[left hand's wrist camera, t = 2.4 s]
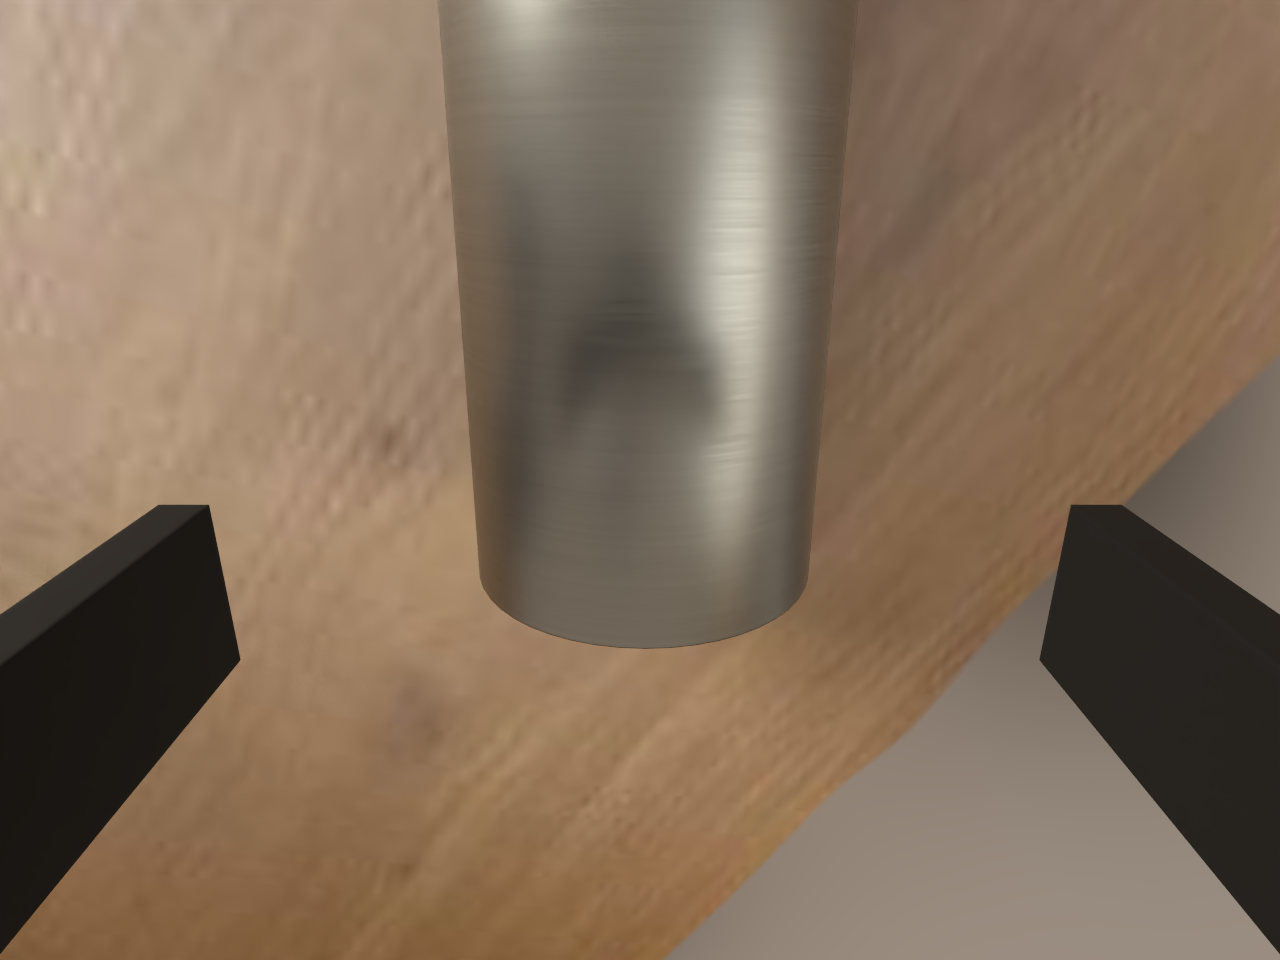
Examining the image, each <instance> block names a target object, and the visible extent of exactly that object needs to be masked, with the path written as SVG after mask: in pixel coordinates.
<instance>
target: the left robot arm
mask: <svg viewBox="0 0 1280 960" xmlns="http://www.w3.org/2000/svg"><path fill="white" fill-rule="evenodd" d="M239 661H240V655H239V650H238V645H237V640H236V635H235V631H234V626H233V621H232V616H231V611H230V606H229V601H228V596H227V591H226V586H225V581H224V576H223V572H222V567H221V562H220V557H219V552H218V547H217V542H216V537H215V532H214V527H213V522H212V518H211V513H210V508H209V505H158V506H156V507H155V508H153V509H152V510H151V511H149V512H148V513H146V514H145V515H143V516H142V517H140V518H139V519H138V520H136V521H135V522H133V523H132V524H130V525H129V526H127V527H126V528H125V529H123V530H122V531H120V532H119V533H117V534H116V535H114V536H113V537H112V538H110V539H109V540H107V541H106V542H104V543H103V544H101V545H100V546H99V547H97V548H96V549H94V550H93V551H91V552H90V553H89V554H87V555H86V556H84V557H83V558H81V559H80V560H78V561H77V562H76V563H74V564H73V565H71V566H70V567H68V568H67V569H65V570H64V571H63V572H61V573H60V574H58V575H57V576H55V577H54V578H52V579H51V580H50V581H48V582H47V583H45V584H44V585H42V586H41V587H39V588H38V589H37V590H35V591H34V592H32V593H31V594H29V595H28V596H26V597H25V598H24V599H22V600H21V601H19V602H18V603H16V604H15V605H13V606H12V607H11V608H9V609H8V610H6V611H5V612H3V613H2V614H0V954H1V952H2V951H3V950H4V949H5V947H6V946H7V945H8V944H9V943H10V941H11V940H12V939H13V938H14V936H15V935H16V934H17V933H18V932H19V930H20V929H21V928H22V927H23V925H24V924H25V923H26V922H27V921H28V919H29V918H30V917H31V916H32V914H33V913H34V912H35V911H36V910H37V908H38V907H39V906H40V905H41V903H42V902H43V901H44V900H45V899H46V897H47V896H48V895H49V894H50V892H51V891H52V890H53V889H54V888H55V886H56V885H57V884H58V883H59V881H60V880H61V879H62V878H63V877H64V875H65V874H66V873H67V872H68V870H69V869H70V868H71V867H72V866H73V864H74V863H75V862H76V861H77V859H78V858H79V857H80V856H81V854H82V853H83V852H84V851H85V850H86V848H87V847H88V846H89V845H90V843H91V842H92V841H93V840H94V839H95V837H96V836H97V835H98V834H99V832H100V831H101V830H102V829H103V828H104V826H105V825H106V824H107V823H108V821H109V820H110V819H111V818H112V817H113V815H114V814H115V813H116V812H117V810H118V809H119V808H120V807H121V806H122V804H123V803H124V802H125V801H126V799H127V798H128V797H129V796H130V795H131V793H132V792H133V791H134V790H135V788H136V787H137V786H138V785H139V784H140V782H141V781H142V780H143V779H144V777H145V776H146V775H147V774H148V773H149V771H150V770H151V769H152V768H153V766H154V765H155V764H156V763H157V762H158V760H159V759H160V758H161V757H162V755H163V754H164V753H165V752H166V751H167V749H168V748H169V747H170V746H171V744H172V743H173V742H174V741H175V740H176V738H177V737H178V736H179V735H180V733H181V732H182V731H183V730H184V728H185V727H186V726H187V725H188V724H189V722H190V721H191V720H192V719H193V717H194V716H195V715H196V714H197V713H198V711H199V710H200V709H201V708H202V706H203V705H204V704H205V703H206V702H207V700H208V699H209V698H210V697H211V695H212V694H213V693H214V692H215V691H216V689H217V688H218V687H219V686H220V684H221V683H222V682H223V681H224V680H225V678H226V677H227V676H228V675H229V673H230V672H231V671H232V670H233V669H234V667H235V666H236V665H237V664H238V662H239ZM1040 661H1041V662H1042V664H1043V665H1044V666H1045V667H1046V669H1047V670H1048V671H1049V672H1050V673H1051V675H1052V676H1053V677H1054V678H1055V680H1056V681H1057V682H1058V683H1059V684H1060V686H1061V687H1062V688H1063V689H1064V691H1065V692H1066V693H1067V694H1068V695H1069V697H1070V698H1071V699H1072V700H1073V702H1074V703H1075V704H1076V705H1077V706H1078V708H1079V709H1080V710H1081V711H1082V713H1083V714H1084V715H1085V716H1086V717H1087V719H1088V720H1089V721H1090V722H1091V724H1092V725H1093V726H1094V727H1095V728H1096V730H1097V731H1098V732H1099V733H1100V735H1101V736H1102V737H1103V738H1104V740H1105V741H1106V742H1107V743H1108V744H1109V746H1110V747H1111V748H1112V749H1113V751H1114V752H1115V753H1116V754H1117V755H1118V757H1119V758H1120V759H1121V760H1122V761H1123V763H1124V764H1125V765H1126V766H1127V768H1128V769H1129V770H1130V771H1131V773H1132V774H1133V775H1134V776H1135V777H1136V779H1137V780H1138V781H1139V782H1140V784H1141V785H1142V786H1143V787H1144V788H1145V790H1146V791H1147V792H1148V793H1149V795H1150V796H1151V797H1152V798H1153V799H1154V801H1155V802H1156V803H1157V804H1158V806H1159V807H1160V808H1161V809H1162V810H1163V812H1164V813H1165V814H1166V815H1167V817H1168V818H1169V819H1170V820H1171V821H1172V823H1173V824H1174V825H1175V826H1176V828H1177V829H1178V830H1179V831H1180V832H1181V834H1182V835H1183V836H1184V837H1185V839H1186V840H1187V841H1188V842H1189V843H1190V845H1191V846H1192V847H1193V848H1194V850H1195V851H1196V852H1197V853H1198V854H1199V856H1200V857H1201V858H1202V859H1203V861H1204V862H1205V863H1206V864H1207V865H1208V867H1209V868H1210V869H1211V870H1212V872H1213V873H1214V874H1215V875H1216V877H1217V878H1218V879H1219V880H1220V881H1221V883H1222V884H1223V885H1224V886H1225V888H1226V889H1227V890H1228V891H1229V892H1230V894H1231V895H1232V896H1233V897H1234V899H1235V900H1236V901H1237V902H1238V903H1239V905H1240V906H1241V907H1242V908H1243V910H1244V911H1245V912H1246V913H1247V914H1248V916H1249V917H1250V918H1251V919H1252V921H1253V922H1254V923H1255V924H1256V925H1257V927H1258V928H1259V929H1260V930H1261V932H1262V933H1263V934H1264V935H1265V936H1266V938H1267V939H1268V940H1269V941H1270V943H1271V944H1272V945H1273V946H1274V947H1275V949H1276V950H1277V951H1278V952H1279V954H1280V614H1278V613H1277V612H1275V611H1274V610H1272V609H1271V608H1269V607H1268V606H1267V605H1265V604H1264V603H1262V602H1261V601H1259V600H1258V599H1256V598H1255V597H1254V596H1252V595H1251V594H1249V593H1248V592H1246V591H1245V590H1243V589H1242V588H1241V587H1239V586H1238V585H1236V584H1235V583H1233V582H1232V581H1230V580H1229V579H1228V578H1226V577H1225V576H1223V575H1222V574H1220V573H1219V572H1217V571H1216V570H1214V569H1213V568H1212V567H1210V566H1209V565H1207V564H1206V563H1204V562H1203V561H1202V560H1200V559H1199V558H1197V557H1196V556H1194V555H1193V554H1191V553H1190V552H1189V551H1187V550H1186V549H1184V548H1183V547H1181V546H1180V545H1179V544H1177V543H1176V542H1174V541H1173V540H1171V539H1170V538H1168V537H1167V536H1166V535H1164V534H1163V533H1161V532H1160V531H1158V530H1157V529H1155V528H1154V527H1153V526H1151V525H1150V524H1148V523H1147V522H1145V521H1144V520H1142V519H1141V518H1139V517H1138V516H1137V515H1135V514H1134V513H1132V512H1131V511H1129V510H1128V509H1127V508H1125V507H1124V506H1122V505H1071V508H1070V513H1069V518H1068V522H1067V527H1066V532H1065V537H1064V542H1063V547H1062V552H1061V557H1060V562H1059V567H1058V572H1057V576H1056V581H1055V586H1054V591H1053V596H1052V601H1051V606H1050V611H1049V616H1048V621H1047V626H1046V631H1045V635H1044V640H1043V645H1042V650H1041V655H1040Z"/></svg>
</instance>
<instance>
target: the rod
mask: <svg viewBox="0 0 1280 960" xmlns="http://www.w3.org/2000/svg"><path fill="white" fill-rule="evenodd" d="M438 8H439V21H440V35H441V49H442V63H443V77H444V90H445V104H446V118H447V132H448V145H449V159H450V173H451V187H452V200H453V214H454V228H455V242H456V255H457V269H458V283H459V297H460V310H461V324H462V338H463V352H464V365H465V379H466V393H467V407H468V421H469V434H470V448H471V462H472V476H473V489H474V503H475V517H476V531H477V544H478V558H479V572H480V579H481V582H482V585H483V588H484V590H485V591H486V593H487V594H488V596H489V597H490V599H491V600H492V601H493V602H494V603H495V604H496V605H497V606H498V607H499V608H500V609H501V610H502V611H504V612H505V613H507V614H508V615H510V616H511V617H512V618H514V619H516V620H518V621H520V622H522V623H523V624H525V625H527V626H529V627H532V628H534V629H537V630H539V631H542V632H545V633H547V634H550V635H554V636H557V637H561V638H564V639H568V640H572V641H577V642H582V643H588V644H593V645H601V646H609V647H618V648H642V649H648V648H673V647H682V646H692V645H699V644H704V643H709V642H715V641H720V640H723V639H727V638H731V637H734V636H738V635H741V634H744V633H746V632H749V631H752V630H754V629H757V628H759V627H761V626H763V625H765V624H767V623H769V622H771V621H773V620H775V619H776V618H778V617H779V616H780V615H782V614H783V613H785V612H786V611H787V610H789V608H790V607H791V606H792V605H793V604H794V603H795V602H796V601H797V600H798V599H799V597H800V596H801V594H802V592H803V591H804V589H805V586H806V583H807V580H808V570H809V558H810V547H811V535H812V524H813V513H814V501H815V490H816V478H817V467H818V456H819V444H820V433H821V421H822V410H823V399H824V387H825V376H826V364H827V353H828V341H829V330H830V319H831V307H832V296H833V284H834V273H835V262H836V250H837V239H838V227H839V216H840V205H841V193H842V182H843V170H844V159H845V147H846V136H847V125H848V113H849V102H850V90H851V79H852V68H853V56H854V45H855V33H856V22H857V11H858V0H438Z"/></svg>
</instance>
